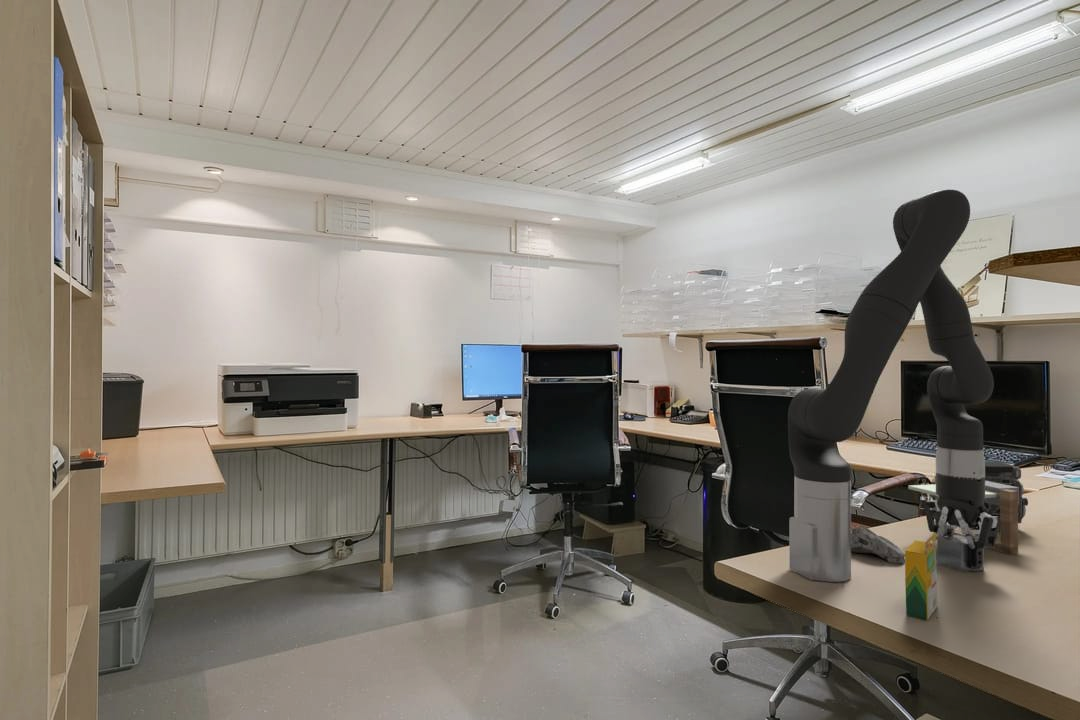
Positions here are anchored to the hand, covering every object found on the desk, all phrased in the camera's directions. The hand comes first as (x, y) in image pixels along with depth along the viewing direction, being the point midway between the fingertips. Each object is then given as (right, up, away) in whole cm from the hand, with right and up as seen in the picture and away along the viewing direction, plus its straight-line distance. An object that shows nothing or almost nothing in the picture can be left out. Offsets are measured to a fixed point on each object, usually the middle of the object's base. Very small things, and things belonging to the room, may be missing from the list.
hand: (960, 562), depth 108 cm
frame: (+14, -1, +15) cm, 21 cm away
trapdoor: (+11, +8, +15) cm, 20 cm away
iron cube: (0, -1, 0) cm, 1 cm away
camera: (+27, -1, +26) cm, 38 cm away
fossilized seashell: (-12, -1, +7) cm, 14 cm away
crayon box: (-20, -1, -20) cm, 28 cm away
